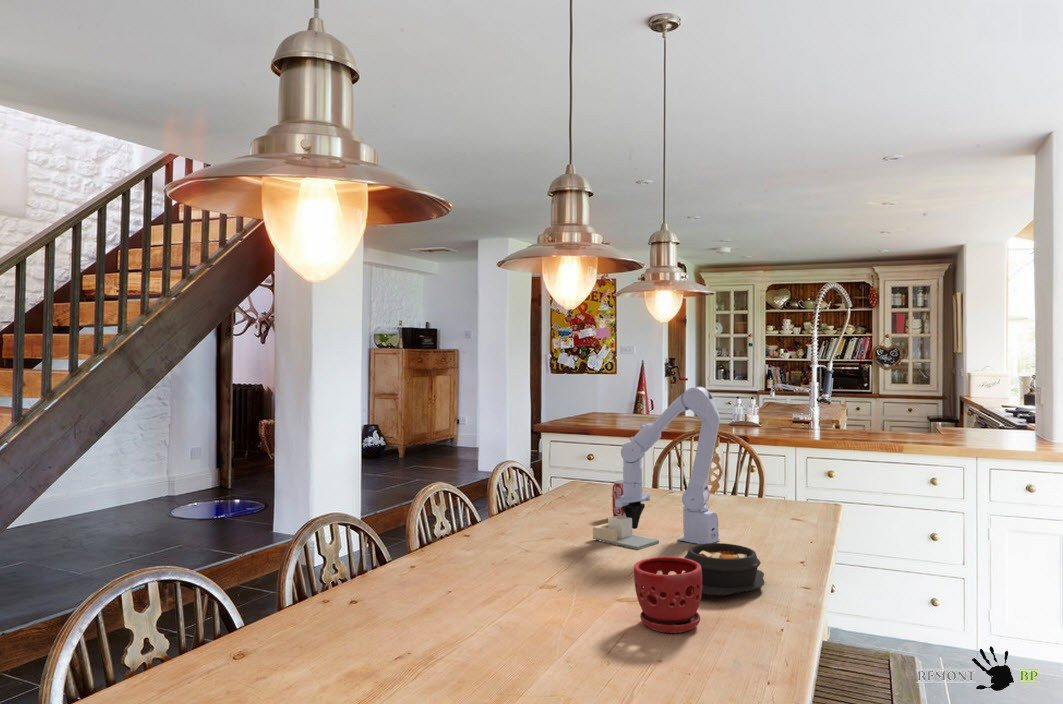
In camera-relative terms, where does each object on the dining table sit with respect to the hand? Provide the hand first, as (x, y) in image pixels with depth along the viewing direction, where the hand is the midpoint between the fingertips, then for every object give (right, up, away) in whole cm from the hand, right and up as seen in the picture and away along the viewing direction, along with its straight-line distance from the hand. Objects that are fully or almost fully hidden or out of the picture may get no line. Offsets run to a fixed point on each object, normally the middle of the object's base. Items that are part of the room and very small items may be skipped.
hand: (633, 528), depth 220 cm
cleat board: (-3, -2, -8) cm, 9 cm away
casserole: (+13, -2, -51) cm, 53 cm away
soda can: (0, -3, +24) cm, 24 cm away
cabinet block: (-4, -1, -4) cm, 6 cm away
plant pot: (-4, -1, -75) cm, 75 cm away
